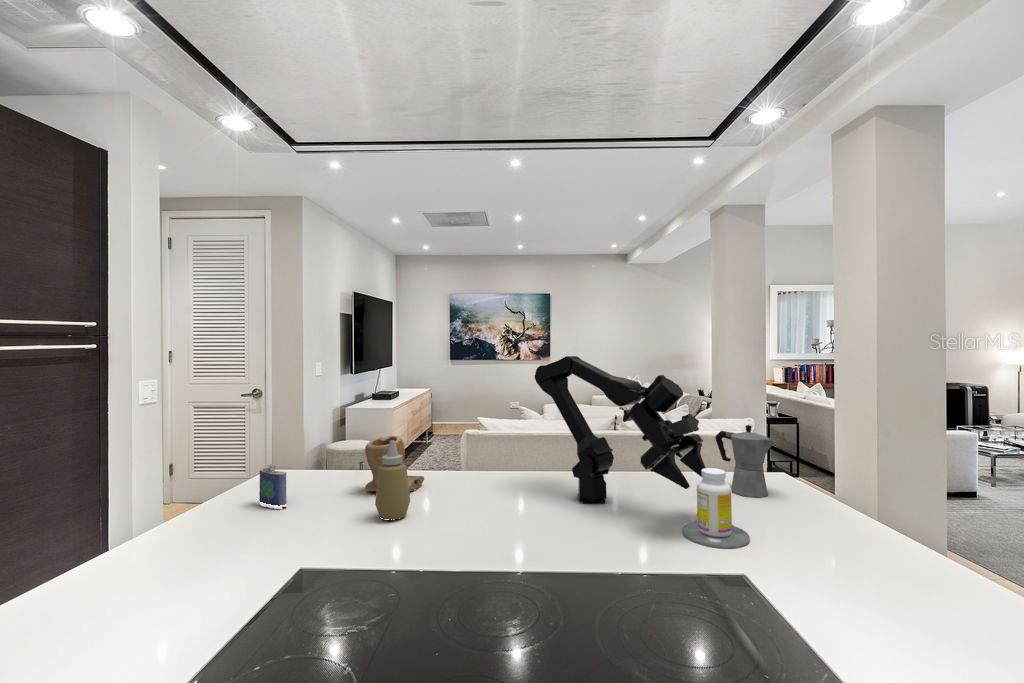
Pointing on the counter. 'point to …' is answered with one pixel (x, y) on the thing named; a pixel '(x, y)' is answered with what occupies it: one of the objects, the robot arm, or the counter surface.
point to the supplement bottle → (714, 504)
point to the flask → (272, 486)
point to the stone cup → (374, 459)
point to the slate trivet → (732, 541)
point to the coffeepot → (747, 461)
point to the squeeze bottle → (392, 486)
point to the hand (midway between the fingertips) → (698, 483)
